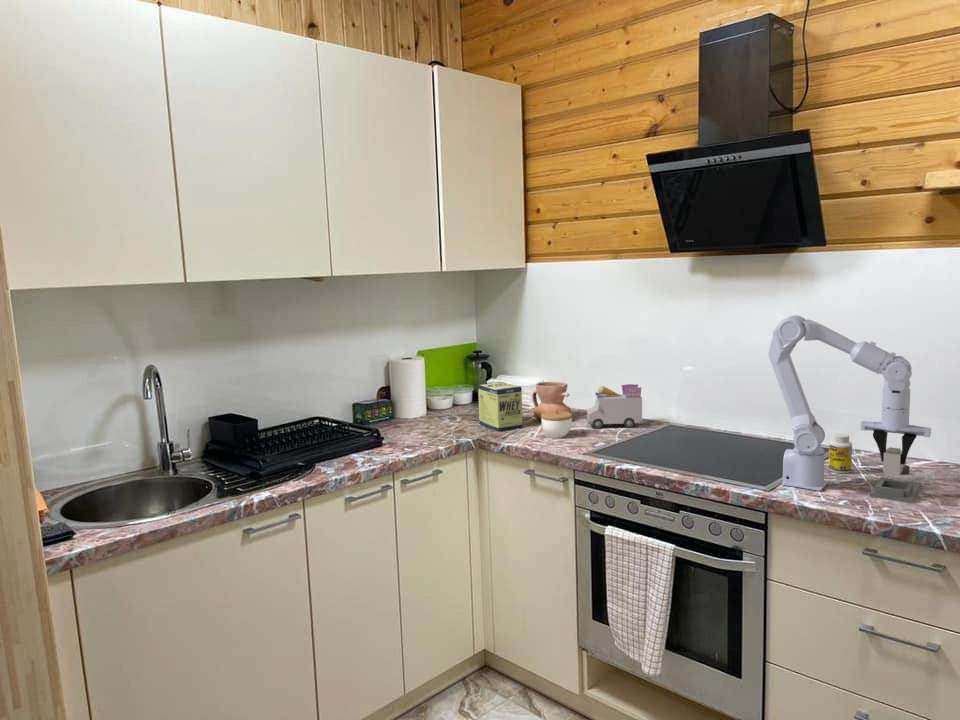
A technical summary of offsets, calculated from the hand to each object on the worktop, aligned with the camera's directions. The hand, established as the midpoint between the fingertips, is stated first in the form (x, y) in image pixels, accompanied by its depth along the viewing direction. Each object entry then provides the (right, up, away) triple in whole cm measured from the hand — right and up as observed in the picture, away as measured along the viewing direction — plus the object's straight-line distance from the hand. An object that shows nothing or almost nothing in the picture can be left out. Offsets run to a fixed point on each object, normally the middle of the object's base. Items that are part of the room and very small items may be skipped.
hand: (893, 462), depth 169 cm
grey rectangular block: (0, -2, 0) cm, 2 cm away
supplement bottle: (-2, -6, +22) cm, 23 cm away
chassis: (+3, -8, +4) cm, 9 cm away
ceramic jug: (-73, +2, +98) cm, 123 cm away
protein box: (-93, 0, +90) cm, 129 cm away
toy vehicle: (-52, 0, +84) cm, 98 cm away
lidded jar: (-74, -2, +72) cm, 103 cm away
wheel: (+5, -3, +6) cm, 9 cm away
